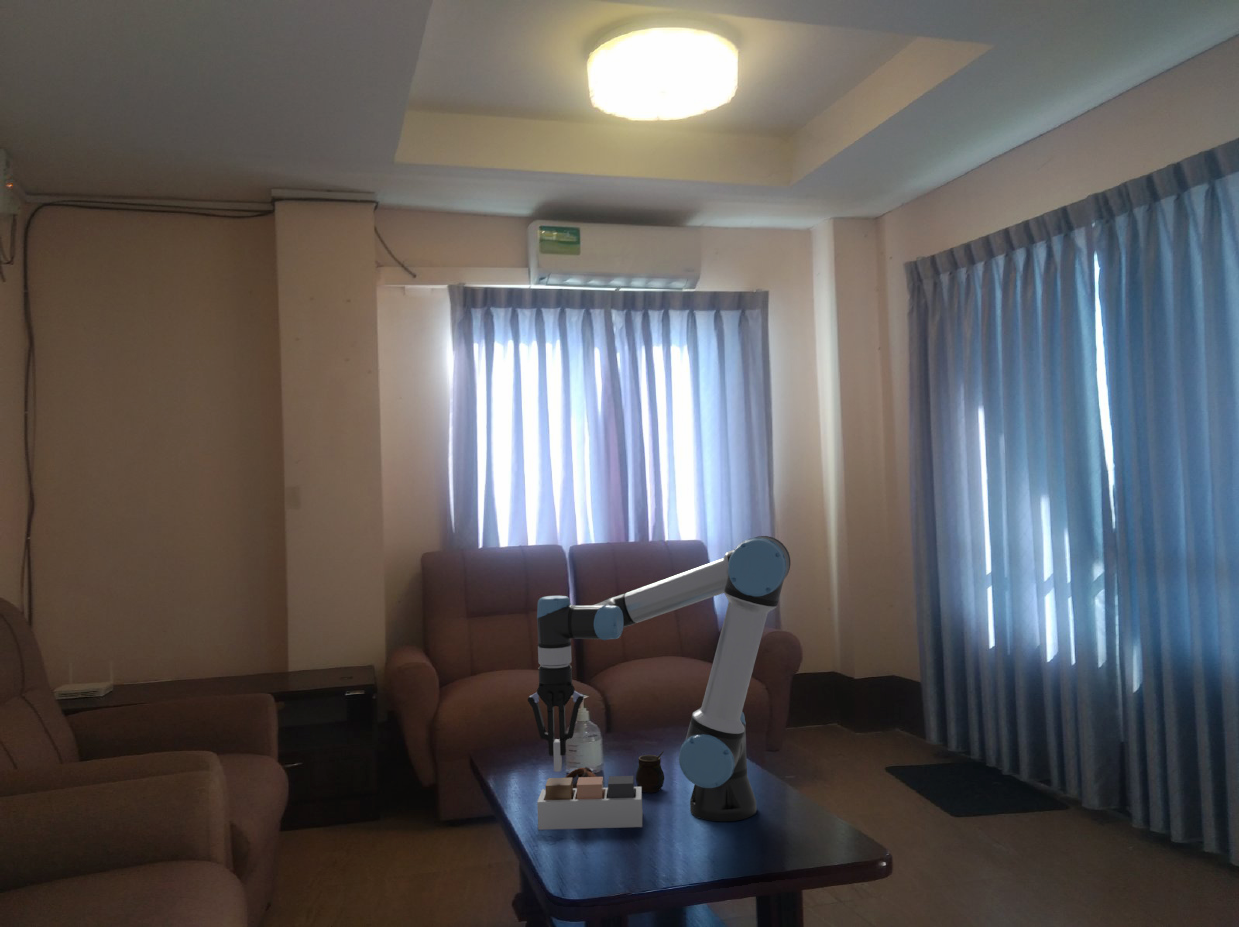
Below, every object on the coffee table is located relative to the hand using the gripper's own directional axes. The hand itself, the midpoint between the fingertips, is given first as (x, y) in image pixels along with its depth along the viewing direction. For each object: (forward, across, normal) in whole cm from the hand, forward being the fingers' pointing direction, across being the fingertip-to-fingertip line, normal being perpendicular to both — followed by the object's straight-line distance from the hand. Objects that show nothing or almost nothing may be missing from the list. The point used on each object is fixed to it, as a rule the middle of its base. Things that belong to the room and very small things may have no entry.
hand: (557, 769), depth 206 cm
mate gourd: (+12, -21, -21) cm, 32 cm away
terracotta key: (+8, -7, 0) cm, 11 cm away
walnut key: (+8, 0, 0) cm, 8 cm away
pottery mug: (+12, -4, -17) cm, 21 cm away
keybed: (+12, -7, 0) cm, 14 cm away
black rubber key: (+8, -14, 0) cm, 16 cm away
